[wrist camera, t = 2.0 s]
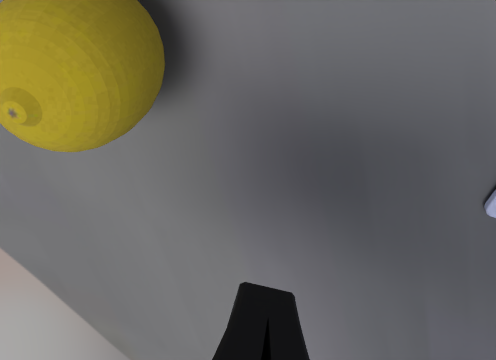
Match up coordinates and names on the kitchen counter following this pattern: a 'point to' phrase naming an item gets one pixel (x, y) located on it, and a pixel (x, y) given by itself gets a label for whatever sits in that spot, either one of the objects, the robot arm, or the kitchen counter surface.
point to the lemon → (77, 70)
